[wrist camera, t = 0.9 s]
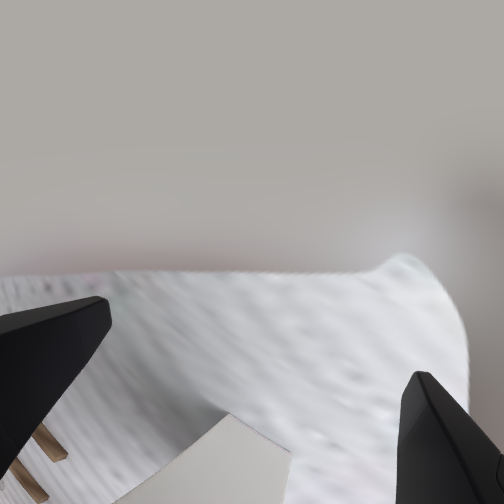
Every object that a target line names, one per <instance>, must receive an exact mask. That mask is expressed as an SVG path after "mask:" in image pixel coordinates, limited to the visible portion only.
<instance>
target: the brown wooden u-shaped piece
mask: <svg viewBox="0 0 504 504" xmlns="http://www.w3.org/2000/svg"><path fill="white" fill-rule="evenodd" d="M32 437H33V439H34V440H35V441H36V442H37V444H38V445H39V446H40V447H41V449H42V450H43V451H44V452H45V453H46V455H47V456H48V457H49V458H50V459H51V460H52V462H53V463H54V462H57V461H60V460H63V459H66V457H67V455H68V453H67V452H66V451H65V450H64V449H63V447H62V446H61V445H60V444H59V443H58V442H57V441H56V439H55V438H54V437H53V436H52V435H51V434H50V432H49V431H48V430H47V429H46V427H45V426H44V425H43V424H42V422H41V423H40V425H39V426H38V427H37V429H36V430H35V431H34V433H33V434H32ZM9 469H10V471H11V472H12V473H13V475H14V476H15V477H16V479H17V480H18V481H19V483H20V484H21V485H22V486H23V488H24V489H25V490H26V491H27V492H28V494H29V495H30V496H31V497H32V498H33V499H34V501H35V502H36V503H37V504H39V503H42V502H44V501H47V500H48V498H49V496H48V495H47V493H46V492H45V491H44V490H43V489H42V488H41V487H40V486H39V484H38V483H37V482H36V481H35V480H34V478H33V477H32V476H31V475H30V474H29V472H28V471H27V470H26V469H25V467H24V466H23V465H22V463H21V462H20V461H19V459H18V458H17V457H16V458H15V460H14V461H13V463H12V464H11V466H10V467H9Z"/></svg>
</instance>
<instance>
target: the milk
mask: <svg viewBox="0 0 504 504" xmlns="http://www.w3.org/2000/svg"><path fill="white" fill-rule="evenodd" d="M291 461H292V453H290V452H288V451H287V450H285V449H283V448H281V447H280V446H278V445H277V444H275V443H273V442H272V441H270V440H269V439H267V438H265V437H264V436H262V435H261V434H259V433H258V432H256V431H254V430H253V429H251V428H250V427H248V426H247V425H245V424H244V423H242V422H241V421H240V420H238V419H237V418H235V417H234V416H232V415H231V414H227V415H226V416H225V417H224V418H223V419H222V420H220V421H219V422H218V423H217V424H216V425H215V426H214V427H212V428H211V429H210V430H209V431H208V432H207V433H205V434H204V435H203V436H202V437H201V438H199V439H198V440H197V441H196V442H195V443H193V444H192V445H191V446H190V447H188V448H187V449H186V450H185V451H183V452H182V453H181V454H180V455H178V456H177V457H176V458H175V459H173V460H172V461H171V462H169V463H168V464H167V465H166V466H164V467H163V468H162V469H160V470H159V471H158V472H156V473H155V474H154V475H152V476H151V477H149V478H148V479H147V480H145V481H144V482H143V483H141V484H140V485H138V486H137V487H136V488H134V489H133V490H131V491H130V492H128V493H127V494H125V495H124V496H123V497H121V498H120V499H118V500H117V501H115V502H114V503H112V504H283V503H284V498H285V493H286V488H287V483H288V477H289V472H290V466H291Z"/></svg>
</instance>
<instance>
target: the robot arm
mask: <svg viewBox="0 0 504 504" xmlns="http://www.w3.org/2000/svg"><path fill="white" fill-rule="evenodd" d="M111 326H112V318H111V312H110V306H109V302H108V300H107V299H105V298H102V297H99V296H93V297H88V298H84V299H79V300H74V301H69V302H64V303H60V304H55V305H50V306H45V307H40V308H35V309H31V310H26V311H21V312H16V313H11V314H6V315H2V316H0V480H1V479H2V477H3V476H4V474H5V473H6V471H7V470H8V469H9V467H10V466H11V464H12V463H13V461H14V460H15V458H16V457H17V456H18V454H19V453H20V451H21V449H22V448H23V447H24V445H25V444H26V442H27V441H28V440H29V438H30V437H31V436H32V434H33V433H34V431H35V430H36V429H37V427H38V426H39V425H40V423H41V422H42V421H43V419H44V418H45V417H46V415H47V414H48V413H49V411H50V410H51V409H52V407H53V406H54V405H55V404H56V402H57V401H58V400H59V398H60V397H61V396H62V394H63V393H64V392H65V391H66V389H67V388H68V387H69V386H70V384H71V383H72V382H73V380H74V379H75V378H76V377H77V375H78V374H79V373H80V372H81V370H82V369H83V368H84V367H85V365H86V364H87V363H88V361H89V360H90V358H91V357H92V355H93V354H94V352H95V351H96V349H97V348H98V346H99V345H100V343H101V342H102V340H103V339H104V337H105V336H106V334H107V333H108V331H109V330H110V328H111ZM396 504H504V455H503V454H501V452H500V450H499V449H498V448H497V447H496V446H495V444H494V443H493V442H492V441H491V440H490V439H489V438H488V436H487V435H486V434H485V433H484V432H483V431H482V430H481V428H480V427H479V426H478V425H477V424H476V423H475V422H474V420H473V419H472V418H471V417H470V416H469V415H468V414H467V413H466V412H465V410H464V409H463V408H462V407H461V406H460V405H459V404H458V403H457V402H456V400H455V399H454V398H453V397H452V396H451V395H450V394H449V393H448V392H447V391H446V390H445V389H444V387H443V386H442V385H441V384H440V383H439V382H438V381H437V380H436V379H435V378H434V377H433V376H432V375H431V374H430V373H429V372H423V371H416V372H414V373H413V375H412V377H411V379H410V381H409V383H408V385H407V387H406V388H405V390H404V392H403V395H402V399H401V411H400V424H399V435H398V446H397V486H396Z"/></svg>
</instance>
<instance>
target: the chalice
mask: <svg viewBox="0 0 504 504" xmlns="http://www.w3.org/2000/svg"><path fill="white" fill-rule="evenodd" d="M0 490H4V484H3V480H2V479H1V480H0Z"/></svg>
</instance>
